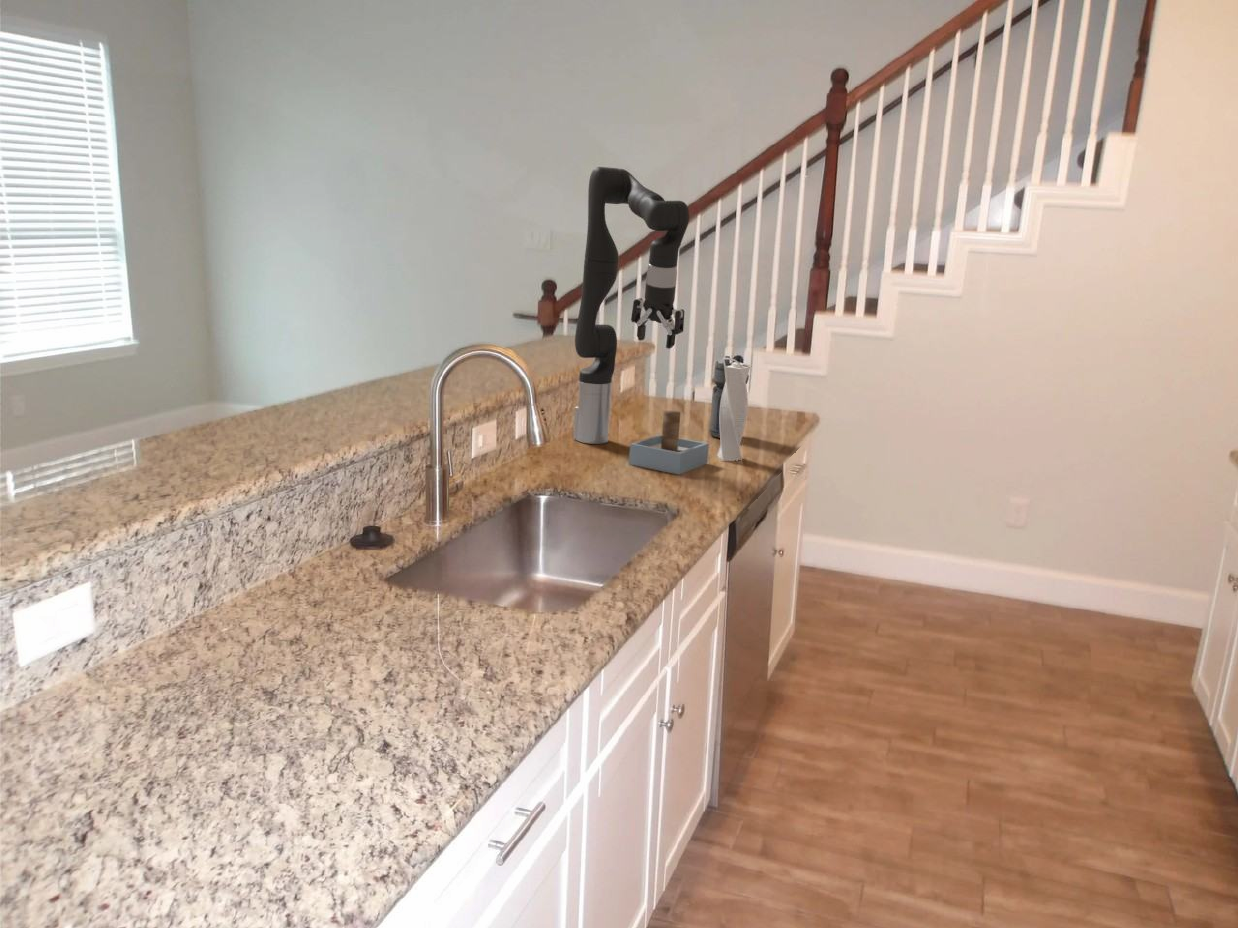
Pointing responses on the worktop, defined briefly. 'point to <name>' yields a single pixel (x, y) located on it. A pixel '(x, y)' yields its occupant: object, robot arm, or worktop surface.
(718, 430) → the dark tall piece
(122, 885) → the worktop surface
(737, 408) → the skyscraper
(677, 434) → the peg
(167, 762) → the worktop surface
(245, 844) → the worktop surface
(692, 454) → the box
